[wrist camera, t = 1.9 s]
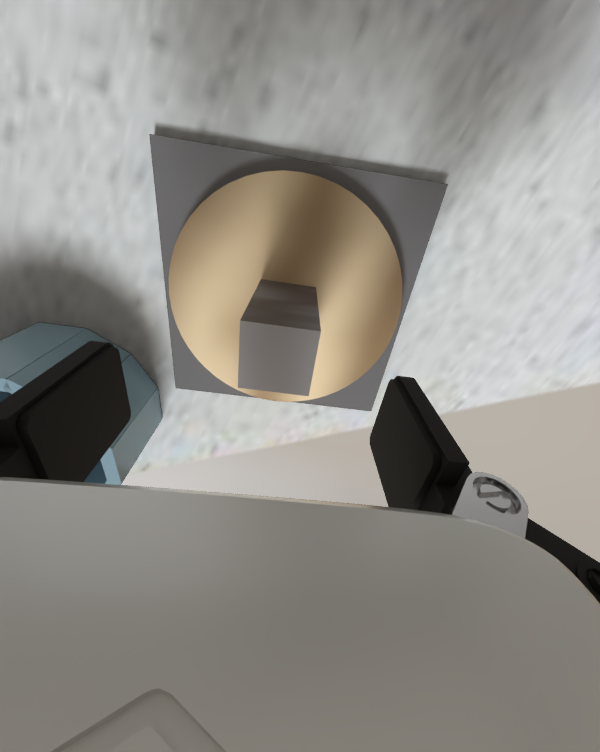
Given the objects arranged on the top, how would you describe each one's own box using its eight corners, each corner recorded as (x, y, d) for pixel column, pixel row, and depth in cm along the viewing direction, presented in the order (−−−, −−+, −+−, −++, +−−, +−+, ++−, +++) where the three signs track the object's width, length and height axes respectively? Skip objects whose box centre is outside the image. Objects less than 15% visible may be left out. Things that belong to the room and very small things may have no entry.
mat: (443, 184, 15) (447, 184, 14) (369, 406, 22) (371, 411, 22) (154, 135, 14) (149, 133, 13) (178, 383, 21) (175, 388, 21)
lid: (433, 194, 14) (519, 197, 9) (365, 405, 21) (388, 484, 16) (162, 149, 14) (57, 119, 8) (182, 382, 20) (134, 457, 15)
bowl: (150, 336, 19) (94, 389, 14) (167, 455, 25) (132, 522, 20) (-29, 313, 19) (-155, 359, 13) (31, 440, 24) (-41, 506, 19)
